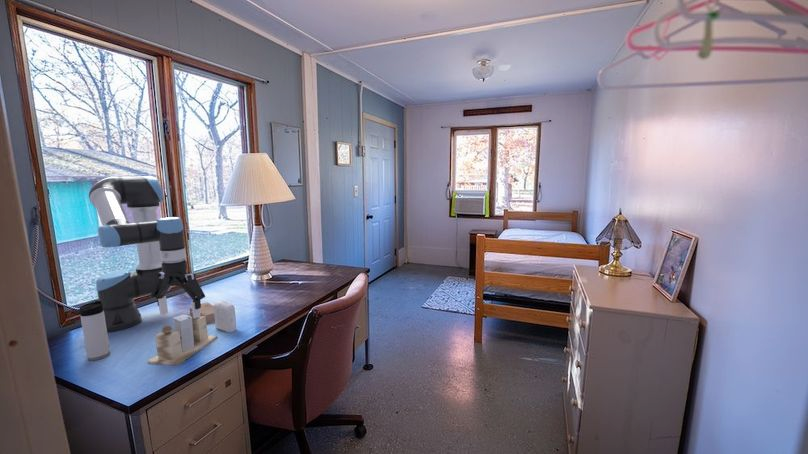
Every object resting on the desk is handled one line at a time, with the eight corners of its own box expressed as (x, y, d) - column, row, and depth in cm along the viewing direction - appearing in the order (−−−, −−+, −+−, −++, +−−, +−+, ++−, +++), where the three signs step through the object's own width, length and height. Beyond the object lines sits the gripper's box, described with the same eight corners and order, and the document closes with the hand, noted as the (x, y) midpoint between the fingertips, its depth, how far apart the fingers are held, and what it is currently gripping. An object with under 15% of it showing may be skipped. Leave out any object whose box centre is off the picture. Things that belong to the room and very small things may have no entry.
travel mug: (115, 350, 128) (107, 300, 125) (100, 360, 121) (92, 307, 118) (98, 351, 127) (90, 300, 124) (82, 360, 121) (73, 307, 118)
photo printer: (238, 329, 144) (235, 301, 142) (228, 333, 141) (226, 305, 139) (223, 324, 149) (220, 297, 147) (214, 328, 146) (211, 300, 144)
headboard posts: (147, 363, 119) (142, 329, 117) (190, 336, 139) (187, 306, 137) (177, 365, 117) (173, 331, 115) (217, 337, 137) (214, 308, 135)
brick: (226, 318, 156) (225, 308, 156) (207, 324, 150) (206, 314, 149) (207, 310, 166) (206, 301, 165) (189, 316, 159) (188, 307, 158)
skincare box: (174, 348, 128) (171, 317, 126) (187, 343, 131) (184, 313, 129) (182, 352, 124) (178, 321, 122) (195, 347, 128) (192, 316, 126)
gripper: (134, 261, 121) (141, 317, 124) (197, 265, 117) (203, 322, 121) (152, 256, 128) (159, 309, 132) (212, 259, 124) (217, 313, 128)
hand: (180, 315), depth 126 cm, fingers open, 13 cm apart
